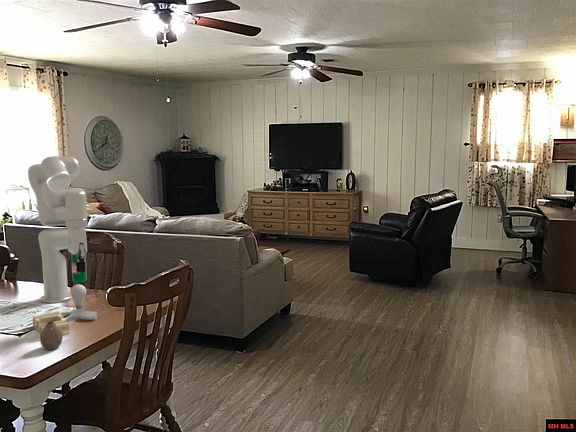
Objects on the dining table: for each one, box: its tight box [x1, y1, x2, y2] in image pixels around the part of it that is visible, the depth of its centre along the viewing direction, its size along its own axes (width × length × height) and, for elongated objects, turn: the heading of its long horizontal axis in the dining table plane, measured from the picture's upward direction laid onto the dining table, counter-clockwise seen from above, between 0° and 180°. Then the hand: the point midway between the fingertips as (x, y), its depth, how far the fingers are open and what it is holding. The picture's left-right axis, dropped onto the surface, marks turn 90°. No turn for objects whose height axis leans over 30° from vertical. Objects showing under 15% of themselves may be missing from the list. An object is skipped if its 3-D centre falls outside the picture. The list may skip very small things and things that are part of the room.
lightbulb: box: [69, 283, 87, 310], centre depth 210 cm, size 6×6×11 cm
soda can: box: [70, 252, 88, 284], centre depth 194 cm, size 5×5×12 cm
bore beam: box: [32, 311, 70, 336], centre depth 188 cm, size 16×9×4 cm, turn 37°
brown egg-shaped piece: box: [39, 322, 64, 351], centre depth 171 cm, size 7×7×9 cm
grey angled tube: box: [65, 308, 98, 326], centre depth 199 cm, size 8×12×3 cm
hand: (79, 270), depth 194 cm, fingers closed on soda can, 5 cm apart
